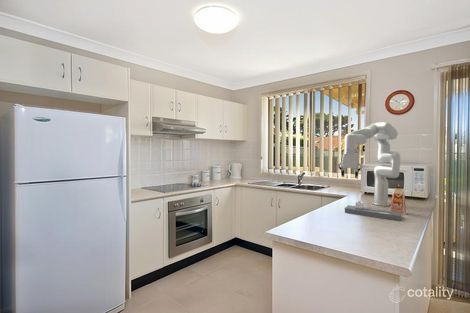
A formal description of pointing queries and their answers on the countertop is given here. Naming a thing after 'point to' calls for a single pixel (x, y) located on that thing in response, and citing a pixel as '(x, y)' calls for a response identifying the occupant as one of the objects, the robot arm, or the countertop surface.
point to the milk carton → (398, 201)
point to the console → (374, 213)
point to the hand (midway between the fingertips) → (349, 176)
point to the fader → (359, 204)
